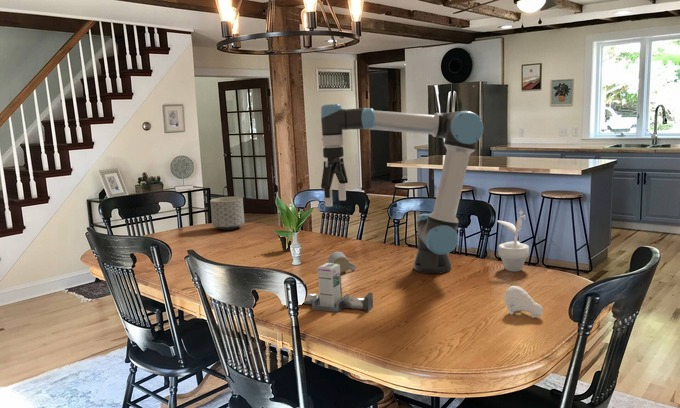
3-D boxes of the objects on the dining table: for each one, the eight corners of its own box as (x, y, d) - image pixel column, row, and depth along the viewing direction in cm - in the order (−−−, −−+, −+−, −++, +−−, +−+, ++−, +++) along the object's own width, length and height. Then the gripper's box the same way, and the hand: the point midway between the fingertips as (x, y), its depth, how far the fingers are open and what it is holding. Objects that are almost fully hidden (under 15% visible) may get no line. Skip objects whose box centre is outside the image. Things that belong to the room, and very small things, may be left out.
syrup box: (334, 310, 180) (332, 268, 177) (319, 307, 183) (317, 266, 180) (342, 304, 185) (340, 263, 182) (328, 302, 188) (325, 262, 185)
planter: (207, 232, 316) (205, 202, 313) (220, 225, 334) (217, 196, 331) (238, 232, 313) (236, 201, 310) (249, 225, 331) (246, 196, 328)
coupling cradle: (375, 304, 183) (374, 290, 182) (365, 314, 174) (365, 300, 173) (299, 297, 193) (299, 284, 193) (287, 307, 185) (286, 293, 184)
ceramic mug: (334, 274, 219) (333, 256, 218) (328, 269, 227) (327, 252, 226) (358, 272, 222) (358, 254, 221) (352, 267, 230) (351, 249, 229)
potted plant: (533, 268, 215) (534, 207, 211) (520, 275, 207) (521, 211, 203) (504, 263, 224) (504, 204, 219) (490, 270, 215) (490, 208, 211)
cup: (298, 251, 258) (294, 231, 257) (280, 254, 258) (275, 234, 257) (299, 247, 267) (296, 228, 266) (282, 250, 267) (278, 231, 266)
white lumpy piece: (513, 281, 172) (549, 293, 164) (511, 306, 174) (546, 318, 166) (503, 286, 168) (538, 298, 160) (500, 311, 170) (535, 324, 162)
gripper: (336, 144, 211) (338, 197, 214) (309, 149, 188) (313, 209, 192) (354, 144, 208) (356, 198, 212) (329, 149, 185) (332, 209, 189)
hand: (335, 203), depth 202 cm, fingers open, 13 cm apart
